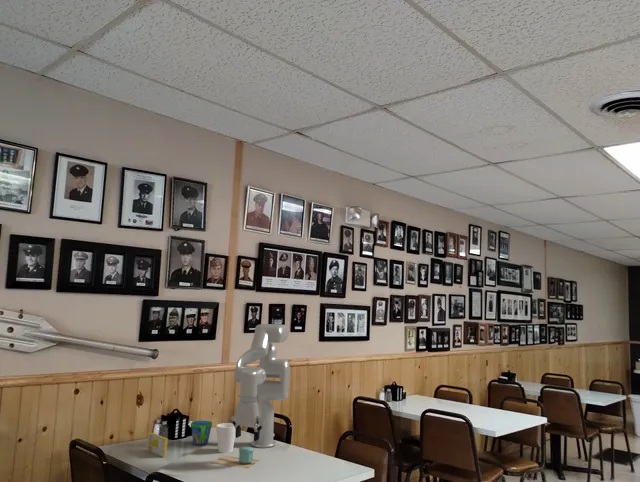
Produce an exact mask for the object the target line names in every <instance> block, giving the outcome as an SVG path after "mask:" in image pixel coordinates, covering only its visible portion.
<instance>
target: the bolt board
mask: <svg viewBox="0 0 640 482" xmlns="http://www.w3.org/2000/svg"><path fill="white" fill-rule="evenodd" d="M260 461H261V460H260V459H253V461H252V462H249V463H242V462H239V457H236V456H229V455H228V456H227V455H222V456H220V457H219V458H217V459H215V460H213V461H212V462H210V464H211V465H212V464H214V465H220V466H227V467H237V468H242V469H243V468H244V469H250V468H251V467H252V466H254V465H255V464H257V463H258V462H260Z"/></svg>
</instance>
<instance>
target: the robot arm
mask: <svg viewBox="0 0 640 482" xmlns="http://www.w3.org/2000/svg"><path fill="white" fill-rule="evenodd" d="M254 329H255V330H254V334H253V338H252V342H251V345H250V349H248V350H246V351H245V352H244V353H243V354H242V355H240V357H239V358H238V360H237V362H236V366H235V368H234V374H233V379H234V381H235V383H237V384H240V386H239V394H238V396H237V397H238V399H239V401H237V405H236V410H235V415H233V416H231V417H230V419H231V421H232V424H233V425H234V427H235V428H236V432H235V438H236V439H237V438H239V437H241V436H242V427H247V428H252V429H253V430H254V432H253V440H251V442H250V446H251V447H253V448H263V449H266V448H272V447H275V446H276V445H277V441H276V440H274V437H275V433H274V428H275V427H274V426H275V425H274V422H275V407H274V405H273V403H272V402H271V401H285V400H286V401H287V399H288V397H289V390H290V376H291V375H290V374H291V369H290V368H291V367H290V362H289V361H288V359H284V358H277V347H276V345H275V343H278V344H281V343H285V342H287V341H286V340H287V339H288V338H289V328H288V325H286V324H273V323H270V324H269V323H261V324H257V325H256V326H255V328H254ZM256 361H259V364H258V367H253V366H252V367H251V366H247V365H249V364H251V363H253V362H256ZM267 378H269V379H270V378H271V379H273V380H271V379H270V380H269V379H267ZM274 379H280V380H274Z"/></svg>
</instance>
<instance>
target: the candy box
mask: <svg viewBox="0 0 640 482" xmlns="http://www.w3.org/2000/svg"><path fill="white" fill-rule="evenodd" d="M168 441H169V439H168V438H167V437H166V436H165V437H164V436H162V435H159V434H157V433H155V432H152V431H151V432H147V440H146V451H147V452H149V453H152V454H153V455H157V456H158V457H162V458H167V454H168V453H167V451H168Z"/></svg>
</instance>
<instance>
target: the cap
mask: <svg viewBox="0 0 640 482" xmlns="http://www.w3.org/2000/svg"><path fill="white" fill-rule="evenodd" d="M238 452H239V454H238V458H239V462H242V463H249V462H252V461H253V460H254V459H253V455H254V447H253V446H242V447H239V448H238Z"/></svg>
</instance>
